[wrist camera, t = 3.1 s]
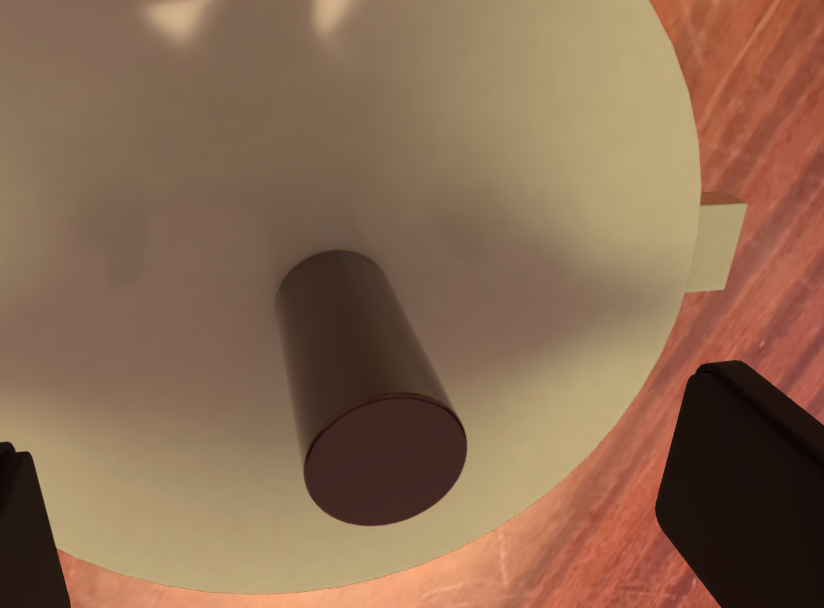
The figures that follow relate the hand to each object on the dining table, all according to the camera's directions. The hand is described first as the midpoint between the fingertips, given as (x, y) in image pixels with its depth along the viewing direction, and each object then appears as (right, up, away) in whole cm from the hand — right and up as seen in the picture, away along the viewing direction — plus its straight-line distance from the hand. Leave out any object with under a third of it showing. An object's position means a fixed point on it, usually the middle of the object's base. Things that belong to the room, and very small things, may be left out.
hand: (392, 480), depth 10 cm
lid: (-1, +3, +5) cm, 6 cm away
